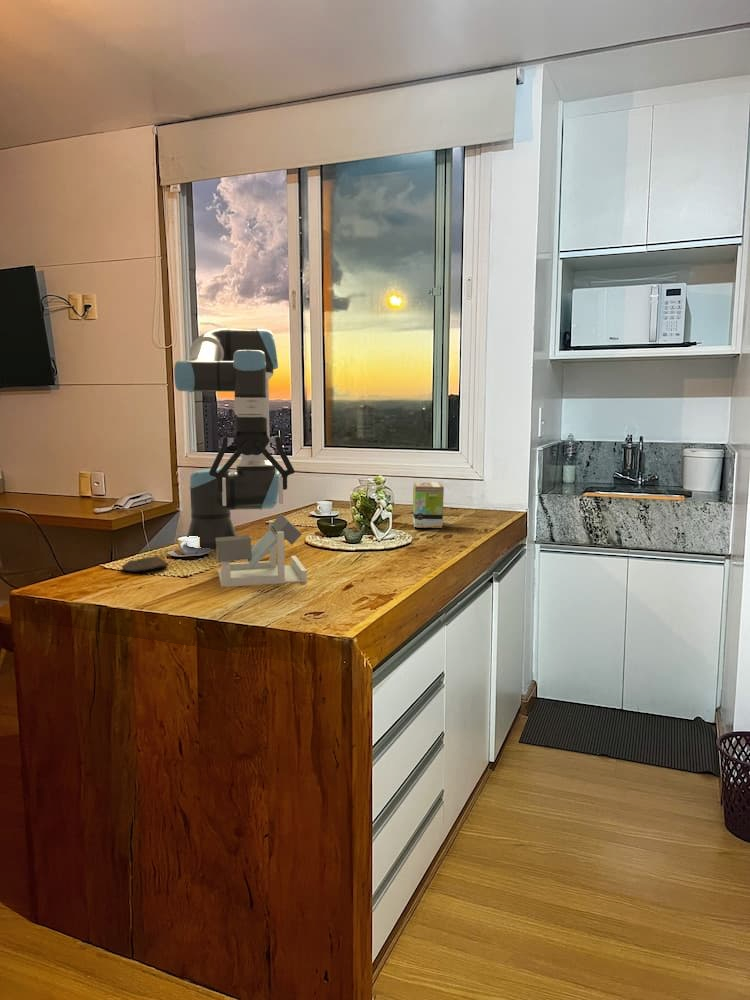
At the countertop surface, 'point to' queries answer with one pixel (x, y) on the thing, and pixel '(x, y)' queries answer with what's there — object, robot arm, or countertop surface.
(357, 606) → the countertop surface
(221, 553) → the gray rectangular block
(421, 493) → the tea box
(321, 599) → the countertop surface
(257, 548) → the trapdoor
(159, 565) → the rock
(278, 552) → the frame
